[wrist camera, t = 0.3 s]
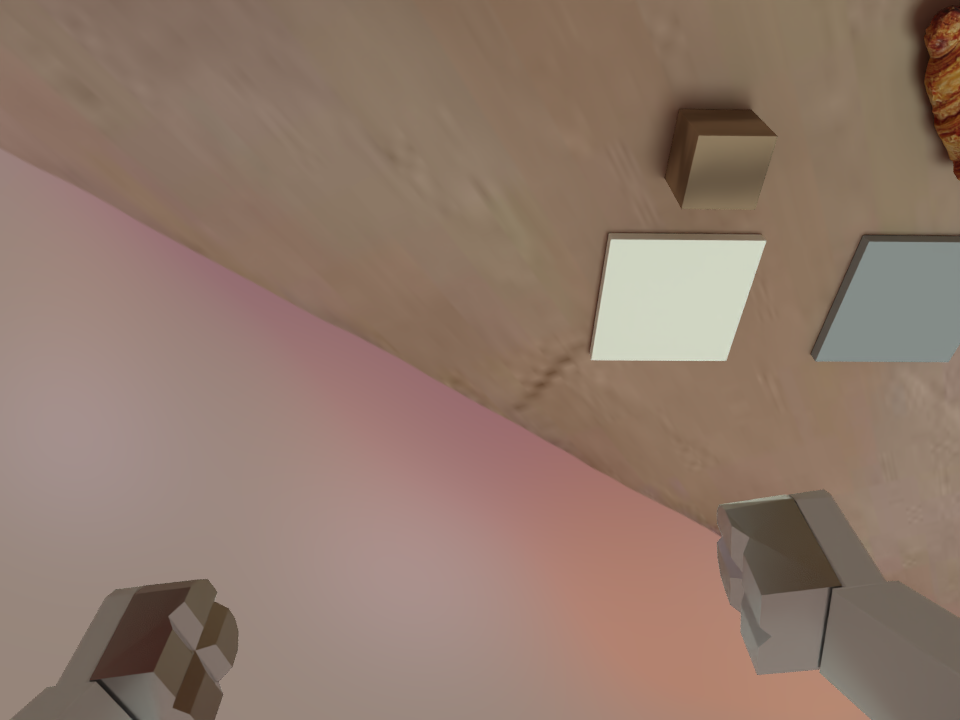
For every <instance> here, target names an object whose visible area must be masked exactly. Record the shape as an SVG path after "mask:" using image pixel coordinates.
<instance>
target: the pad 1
mask: <svg viewBox="0 0 960 720" xmlns="http://www.w3.org/2000/svg"><path fill="white" fill-rule="evenodd" d="M765 243H766V240H765V238H764V237H763V235H762V234H659V233H609V235H608V241H607V247H606V253H605V260H604V266H603V272H602V279H601V285H600V291H599V297H598V304H597V310H596V316H595V323H594V329H593V335H592V342H591V348H590V357H591V360H658V361H726V360H727V357H728V354H729V351H730V348H731V345H732V342H733V339H734V336H735V333H736V330H737V327H738V324H739V321H740V318H741V315H742V312H743V309H744V306H745V303H746V300H747V297H748V294H749V291H750V288H751V285H752V282H753V279H754V276H755V273H756V270H757V267H758V264H759V261H760V258H761V255H762V252H763V249H764V246H765Z"/></svg>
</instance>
